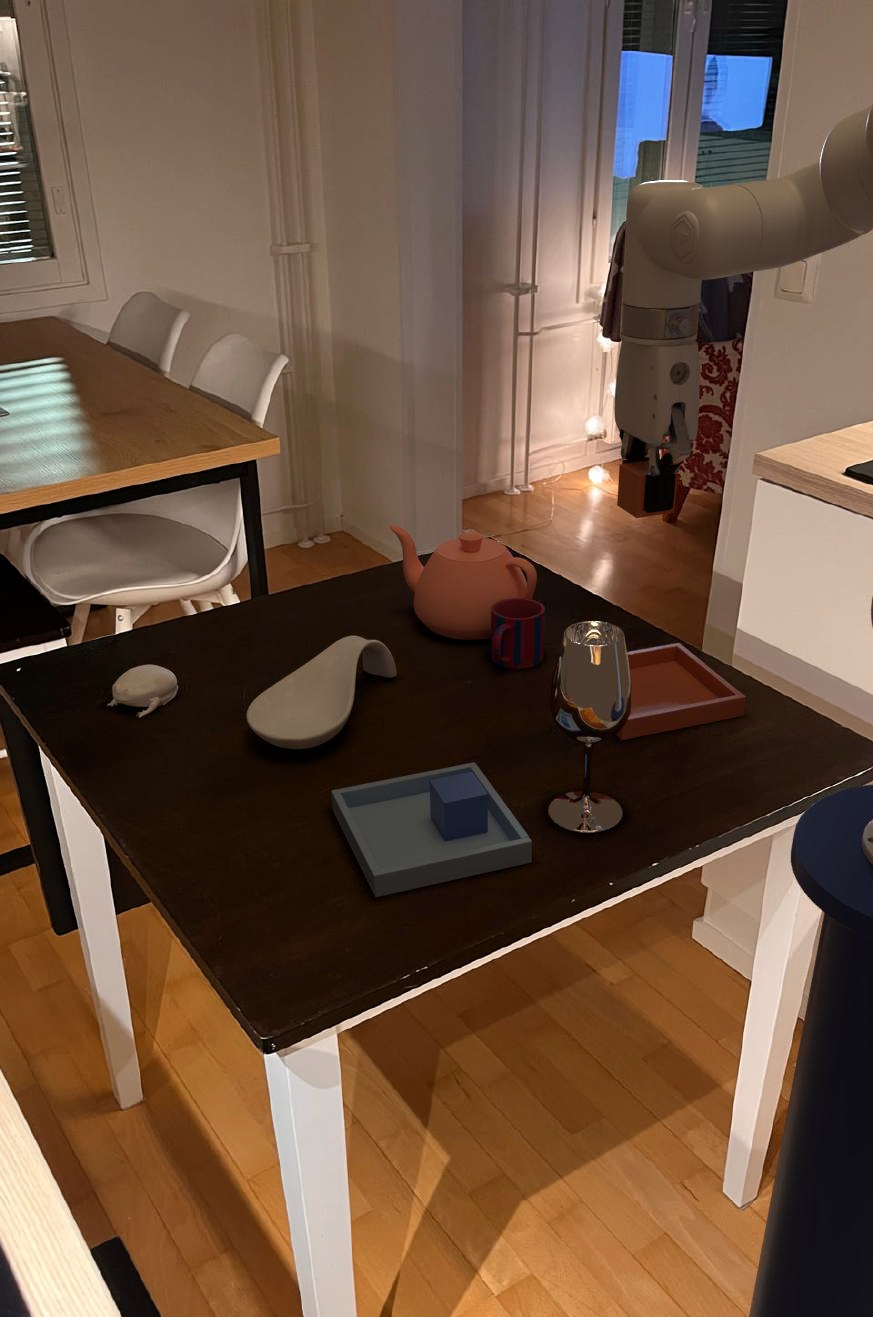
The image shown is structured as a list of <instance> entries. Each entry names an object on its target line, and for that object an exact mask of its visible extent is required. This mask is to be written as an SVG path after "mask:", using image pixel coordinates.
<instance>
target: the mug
mask: <svg viewBox="0 0 873 1317" xmlns="http://www.w3.org/2000/svg"><path fill="white" fill-rule="evenodd" d="M545 613H546V608H545V606H544V605H543V604H542V603H541V602H539V601H537V600H534V599H532V600H531V599H526V598H510V599H504V600H501V601H498V602H496V603H495V604H493V605H492V607H491V638H490V659H491V661H492V662H493V663H494V664H495V665H497V666H499V667H501V668H506V669H512V670H523V669H530V668H533V667H536V666H538V665H539V664H540V663H542V662H543V660H544V656H545V655H544V654H545V621H546V620H545V618H546V615H545Z"/></svg>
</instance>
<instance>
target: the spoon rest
mask: <svg viewBox="0 0 873 1317" xmlns="http://www.w3.org/2000/svg"><path fill="white" fill-rule="evenodd" d="M361 654H362V669H363V671H364V672H365V673H368V674H370V675H374V676H380V677H383V678H389V679H391V678H395V677H396V676H397V673H398V672H397V667H396V663H395V659H394V657H393V655H392V653H391V651H390V649H389V648H388V647H387V646H386V644H384V643H383V642H381V641H380V640H377V639H366V638H364V637H362V636H359V635H349V636H345V637H342V638H341V639H338V640H336V641H335V642H334V643H332V644H331V645H329V646H328V647H327V648H326V649H324V650H323V651H321V652H320V653H319V654H317V655H316V656H314V657H313V658H312V659H310V660H309V661H308V662H306V663H305V664H303V665H302V666H301V667H299V668H298V669H296V670H295V671H293V672H291V673H290V674H288V675H287V676H285V677H283V678H282V679H281V680H279V681H277V682H276V683H275V684H273V685H271V686H270V687H269V688H266V690H264V691H263V692H261V693H260V694H259V695H258V696H257V697H255V699H253V701H252V702H251V703H250V705H249V706H248V709H247V711H246V722H247V724H248V726H249V728H250V729H251V730H252V732H254V733H255V735H257V736H258V737H259V738H261V739H262V740H264V741H265V742H267V743H269V744H271V745H273V746H275V747H278V748H282V749H287V750H305V749H312V748H316V747H319V746H321V745H323V744H325V743H327V742H329V741H330V740H332V739H333V738H334V737H336V736H337V735H338V734H339V733H340V732H341V731H342V729H343V728H344V726H345V725H346V723H347V721H348V720H349V718H350V715H351V712H352V709H353V705H354V700H355V692H356V678H357V668H358V663H359V659H360V656H361Z"/></svg>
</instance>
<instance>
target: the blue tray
mask: <svg viewBox="0 0 873 1317" xmlns="http://www.w3.org/2000/svg"><path fill="white" fill-rule="evenodd" d="M468 772H472V773H473V774H474V775H475V777H476V778H477V780H478V781H479V782H480V784H481V785H482V787H483V788H484V790H485V791H486V792H487V794H488V832H487V833H482V834H478V835H473V836H468V837H464V838H459V839H455V840H450V841H445V840H444V839H443V837H442V836H441V834H440V832H439V831H438V829H437V827H436V826H435V824H434V823H433V821H432V819H431V815H430V783H429V780H433V779H438V778H443V777H448V776H453V775H458V774H463V773H468ZM330 793H331V803H332V812H333V814H334V816H335V818H336V820H337V823H338V824H339V826H340V829H341V831H342V832H343V835H344V836H345V838H346V840H347V843H348V845H349V847H350V849H351V851H352V853H353V855H354V857H355V859H356V861H357V863H358V865H359V867H360V869H361V871H362V873H363V876H364V877H365V879H366V882H367V883H368V885H369V887H370V890H371V891H372V894H373V896H374V897H375V898H379V897H384V896H388V895H392V894H397V893H401V892H407V891H411V890H414V889H419V888H423V887H424V888H425V887H429V886H433V885H438V884H442V883H445V882H450V881H455V880H459V879H465V878H469V877H473V876H477V875H482V874H486V873H490V872H495V871H499V870H504V869H508V868H512V867H513V868H514V867H517V866H521V865H526V864H531V863H533V855H532V854H533V840H532V839H531V838H530V836H529V835H528V833H527V832H526V831H525V829H524V828H523V826H522V825H521V824H520V822H519V821H518V820H517V818H516V817H515V815H514V814H513V813H512V811H511V810H510V808H508V806H507V805H506V803H505V801H503V799H502V797H501V796H500V795H499V794H498V792H497V790H495V788H494V787H493V785H492V784H491V783H490V781H489V779H488V778H487V777H486V775H485V774H484V773H483V772H482V770H481V769H480V767H479V766H478V765H477V763H476V762H470V763H464V764H459V765H454V766H449V767H445V768H444V767H443V768H438V769H433V770H428V771H424V772H418V773H413V774H409V775H403V776H398V777H392V778H388V779H383V780H378V781H373V782H368V783H363V784H358V785H353V786H348V787H343V788H337V789H333V790H331V791H330Z"/></svg>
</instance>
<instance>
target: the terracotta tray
mask: <svg viewBox="0 0 873 1317" xmlns="http://www.w3.org/2000/svg"><path fill="white" fill-rule="evenodd" d="M627 653H628V659H629V666H630V673H631V682H632V707H631V713H630V715H629V718H628V720H627V722H626V724H625V725H624V726H623V728H622V729H621V730H620V731H619V732H618V733H617V734H616V735H615V736H617V737H618V738H619V739H620V741H624V740H629V739H635V738H639V737H640V738H641V737H645V736H649V735H656V734H660V733H664V732H671V731H675V730H680V729H685V728H690V727H695V726H699V725H704V724H705V725H706V724H710V723H715V722H718V721H725V720H730V719H735V718H739V717H744V716H745V708H746V700H747V696H746V695H744V694H743V693H741V691H740V690H738V689H737V688H736V687H734V686H733V685H732V684H731V683H729V682H728V681H727V680H726V679H724V678H723V677H722V676H721V675H720V674H718V673H717V672H716V671H715V670H713V669H712V668H711V667H710V666H708V665H707V664H706V663H705V662H703V660H701V659H700V658H699V657H698V656H696V655H695V654H694V653H693V652H691V651H690V650H689V649H687V648H686V647H685V646H684V645H683V644H682V643H680V642H676V643H671V644H665V645H659V646H654V647H653V646H652V647H647V648H641V649H637V650H631V651H627Z"/></svg>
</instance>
